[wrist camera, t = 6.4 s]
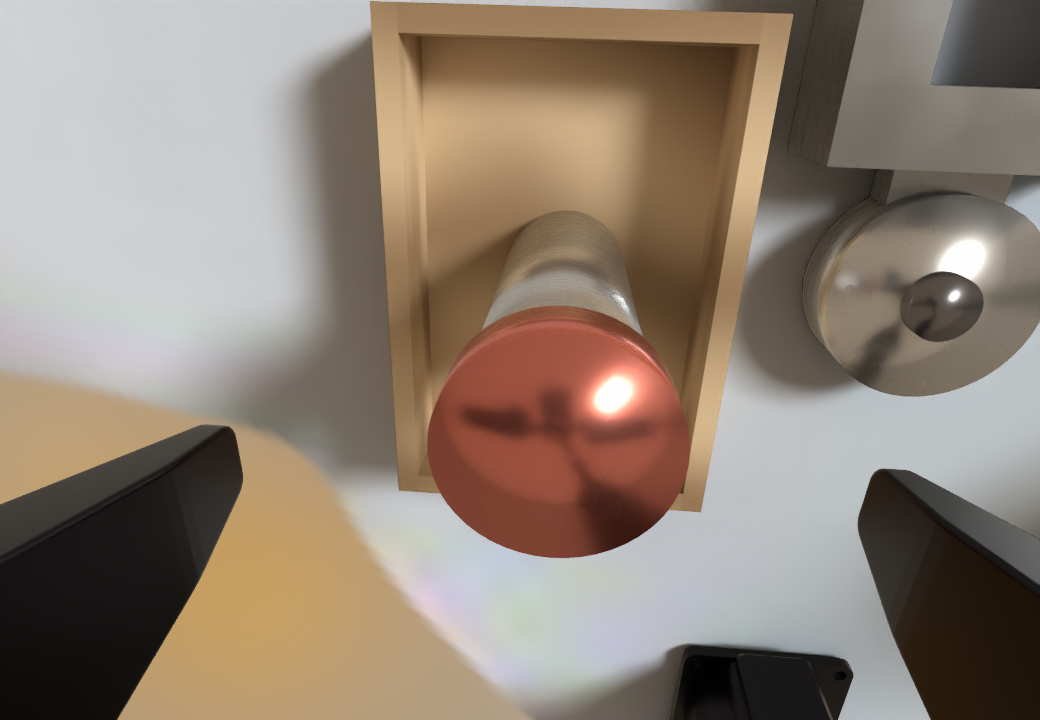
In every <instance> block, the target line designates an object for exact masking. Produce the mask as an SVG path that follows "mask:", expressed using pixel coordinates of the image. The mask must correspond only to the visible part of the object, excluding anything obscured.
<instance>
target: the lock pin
mask: <svg viewBox="0 0 1040 720" xmlns="http://www.w3.org/2000/svg"><path fill="white" fill-rule="evenodd" d="M427 451H428V460H429V464H430V468H431V472H432V476H433V478H434V480H435V483H436V485H437V487H438V489H439V491H440V493H441V494H442V496H443V498H444V499H445V501H446V502H447V504H448V505H449V506H450V507H451V509H452V510H453V511H454V512H455V513H456V514H457V515H458V516H459V517H460V518H461V519H462V520H463V521H464V522H465V523H466V524H467V525H468V526H470V527H471V528H472V529H474V530H475V531H476V532H477V533H479V534H481V535H482V536H484V537H486V538H487V539H489V540H491V541H493V542H495V543H497V544H499V545H501V546H503V547H506V548H509V549H512V550H515V551H518V552H521V553H526V554H530V555H534V556H542V557H550V558H571V557H583V556H588V555H594V554H598V553H602V552H605V551H608V550H612V549H614V548H617V547H619V546H621V545H624V544H626V543H628V542H630V541H632V540H633V539H635V538H637V537H639V536H640V535H642V534H643V533H644V532H646V531H647V530H648V529H650V528H651V527H652V526H653V525H655V524H656V523H657V522H658V521H659V520H660V519H661V518H662V517H663V516H664V515H665V513H666V512H667V511H668V510H669V508H670V507H671V506H672V505H673V503H674V501H675V500H676V498H677V496H678V495H679V493H680V491H681V488H682V486H683V484H684V481H685V479H686V475H687V471H688V467H689V459H690V439H689V432H688V427H687V423H686V419H685V416H684V413H683V410H682V407H681V403H680V400H679V397H678V394H677V391H676V388H675V385H674V382H673V379H672V377H671V374H670V372H669V369H668V368H667V366H666V364H665V363H664V361H663V359H662V357H661V356H660V355H659V353H658V352H657V351H656V350H655V348H654V347H653V346H652V345H651V344H650V343H649V342H648V341H647V340H646V339H645V338H644V337H643V336H642V332H641V328H640V324H639V320H638V316H637V312H636V309H635V305H634V301H633V297H632V293H631V289H630V285H629V281H628V278H627V274H626V270H625V266H624V262H623V258H622V254H621V250H620V248H619V245H618V243H617V241H616V239H615V237H614V236H613V234H612V233H611V232H610V230H609V229H608V228H607V227H606V226H605V225H604V224H602V223H601V222H600V221H598V220H597V219H595V218H593V217H592V216H589V215H587V214H584V213H581V212H577V211H568V210H567V211H555V212H550V213H547V214H544V215H542V216H539V217H537V218H536V219H534V220H532V221H531V222H530V223H528V224H527V225H526V226H525V227H524V228H523V229H522V230H521V231H520V232H519V234H518V235H517V236H516V238H515V240H514V242H513V243H512V246H511V248H510V251H509V254H508V257H507V260H506V263H505V266H504V268H503V271H502V274H501V277H500V280H499V283H498V286H497V289H496V291H495V294H494V297H493V300H492V303H491V306H490V309H489V312H488V315H487V317H486V320H485V323H484V326H483V329H482V331H480V332H479V333H478V334H476V335H475V336H474V337H473V338H472V339H471V340H470V341H469V342H468V343H467V344H466V345H465V346H464V348H463V349H462V350H461V352H460V353H459V354H458V356H457V357H456V359H455V361H454V363H453V364H452V366H451V368H450V370H449V372H448V375H447V377H446V380H445V382H444V385H443V387H442V390H441V392H440V394H439V397H438V399H437V402H436V404H435V407H434V410H433V413H432V415H431V418H430V423H429V428H428V436H427Z"/></svg>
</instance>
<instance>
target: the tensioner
mask: <svg viewBox="0 0 1040 720" xmlns="http://www.w3.org/2000/svg"><path fill="white" fill-rule="evenodd" d="M953 1H954V0H817V5H816V10H815V15H814V20H813V25H812V30H811V35H810V41H809V46H808V51H807V56H806V61H805V66H804V71H803V76H802V81H801V86H800V91H799V96H798V101H797V106H796V111H795V116H794V121H793V126H792V131H791V136H790V141H789V146H788V152H791V153H793V154H796V155H798V156H801V157H803V158H806V159H808V160H811V161H813V162H816V163H819V164H821V165H824V166H826V167H845V168H868V169H877V171H876V175H875V179H874V183H873V187H872V191H871V195H870V198H868V199H866V200H864V201H862V202H860V203H859V204H857V205H856V206H854V207H853V208H851V209H850V210H849V211H847V212H846V213H845V214H844V215H843V216H841V217H840V218H839V219H838V220H837V221H836V222H835V223H834V224H833V225H832V226H831V227H830V228H829V229H828V230H827V232H826V233H825V234H824V236H823V237H822V238H821V240H820V241H819V243H818V244H817V246H816V248H815V249H814V251H813V253H812V255H811V257H810V260H809V262H808V264H807V268H806V271H805V274H804V280H803V286H802V302H803V310H804V313H805V317H806V320H807V322H808V324H809V326H810V329H811V330H812V332H813V333H814V335H815V336H816V338H817V339H818V340H819V341H820V342H821V344H822V345H823V346H824V347H825V348H826V349H827V350H828V351H829V352H830V354H831V355H832V356H833V357H834V358H835V359H836V360H837V361H838V362H839V364H840V365H841V366H842V367H843V368H844V369H845V370H846V371H847V372H848V373H849V374H850V375H851V376H852V377H854V378H855V379H856V380H858V381H859V382H861V383H862V384H864V385H866V386H868V387H870V388H872V389H875V390H878V391H880V392H884V393H888V394H892V395H899V396H928V395H935V394H940V393H945V392H949V391H952V390H955V389H958V388H961V387H964V386H966V385H968V384H971V383H973V382H975V381H977V380H979V379H981V378H983V377H985V376H986V375H988V374H990V373H991V372H993V371H994V370H995V369H997V368H998V367H1000V366H1001V365H1002V364H1004V363H1005V362H1006V361H1007V360H1008V359H1010V358H1011V357H1012V356H1013V355H1014V354H1015V353H1016V352H1017V351H1018V350H1019V349H1020V348H1021V347H1022V346H1023V345H1024V343H1025V342H1026V341H1027V340H1028V338H1029V337H1030V336H1031V335H1032V333H1033V331H1034V330H1035V328H1036V327H1037V325H1038V323H1039V322H1040V232H1039V230H1038V229H1037V228H1036V226H1035V225H1034V224H1033V223H1032V222H1031V221H1030V220H1029V219H1028V218H1026V217H1025V216H1024V215H1023V214H1021V213H1020V212H1018V211H1017V210H1015V209H1013V208H1012V207H1009V206H1007V205H1004V204H1005V201H1006V198H1007V195H1008V192H1009V189H1010V186H1011V184H1012V181H1013V178H1014V175H1034V176H1040V88H1017V87H989V86H960V85H932V84H930V83H931V80H932V76H933V73H934V69H935V65H936V62H937V58H938V55H939V51H940V47H941V44H942V40H943V37H944V33H945V29H946V26H947V22H948V19H949V15H950V11H951V8H952V4H953Z"/></svg>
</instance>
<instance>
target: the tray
mask: <svg viewBox="0 0 1040 720" xmlns="http://www.w3.org/2000/svg"><path fill="white" fill-rule="evenodd" d="M370 10H371V27H372V44H373V61H374V78H375V94H376V111H377V128H378V145H379V162H380V179H381V196H382V213H383V230H384V246H385V263H386V280H387V297H388V314H389V331H390V348H391V365H392V382H393V399H394V415H395V432H396V449H397V466H398V483H399V490H401V491H415V492H429V493H440V491H439V489H438V487H437V485H436V483H435V480H434V478H433V476H432V472H431V468H430V464H429V460H428V451H427V436H428V428H429V423H430V418H431V415H432V413H433V410H434V407H435V404H436V402H437V399H438V397H439V394H440V392H441V390H442V387H443V385H444V382H445V380H446V377H447V375H448V372H449V370H450V368H451V366H452V364H453V363H454V361H455V359H456V357H457V356H458V354H459V353H460V352H461V350H462V349H463V348H464V346H465V345H466V344H467V343H468V342H469V341H470V340H471V339H472V338H473V337H474V336H475V335H476V334H478V333H479V332H480V331H482V329H483V326H484V323H485V320H486V317H487V315H488V312H489V309H490V306H491V303H492V300H493V297H494V294H495V291H496V289H497V286H498V283H499V280H500V277H501V274H502V271H503V268H504V266H505V263H506V260H507V257H508V254H509V251H510V248H511V246H512V243H513V242H514V240H515V238H516V236H517V235H518V234H519V232H520V231H521V230H522V229H523V228H524V227H525V226H526V225H527V224H528V223H530V222H531V221H532V220H534V219H536V218H537V217H539V216H542V215H544V214H547V213H550V212H555V211H567V210H568V211H577V212H581V213H584V214H587V215H589V216H592V217H593V218H595V219H597V220H598V221H600V222H601V223H602V224H604V225H605V226H606V227H607V228H608V229H609V230H610V232H611V233H612V234H613V236H614V237H615V239H616V241H617V243H618V245H619V248H620V250H621V254H622V258H623V262H624V266H625V270H626V274H627V278H628V281H629V285H630V289H631V293H632V297H633V301H634V305H635V309H636V312H637V316H638V320H639V324H640V328H641V332H642V336H643V337H644V338H645V339H646V340H647V341H648V342H649V343H650V344H651V345H652V346H653V347H654V348H655V350H656V351H657V352H658V353H659V355H660V356H661V357H662V359H663V361H664V363H665V364H666V366H667V368H668V369H669V372H670V374H671V377H672V379H673V382H674V385H675V388H676V391H677V394H678V397H679V400H680V403H681V407H682V410H683V413H684V416H685V419H686V423H687V427H688V432H689V439H690V459H689V467H688V471H687V475H686V479H685V481H684V484H683V486H682V488H681V491H680V493H679V495H678V496H677V498H676V500H675V501H674V503H673V505H672V506H671V507H670V508H669V510H678V511H692V512H701V507H702V502H703V497H704V491H705V486H706V481H707V475H708V470H709V465H710V459H711V454H712V449H713V443H714V438H715V432H716V427H717V422H718V416H719V411H720V406H721V400H722V395H723V390H724V384H725V379H726V374H727V368H728V363H729V358H730V352H731V347H732V341H733V336H734V331H735V325H736V320H737V315H738V309H739V304H740V299H741V293H742V288H743V283H744V277H745V272H746V267H747V261H748V256H749V250H750V245H751V240H752V234H753V229H754V224H755V218H756V213H757V208H758V202H759V197H760V192H761V186H762V181H763V176H764V170H765V165H766V159H767V154H768V149H769V143H770V138H771V133H772V127H773V122H774V117H775V111H776V106H777V101H778V95H779V90H780V85H781V79H782V74H783V68H784V63H785V58H786V52H787V47H788V42H789V36H790V31H791V26H792V20H793V15H794V14H784V13H750V12H716V11H682V10H648V9H614V8H580V7H547V6H513V5H479V4H445V3H411V2H377V1H370Z"/></svg>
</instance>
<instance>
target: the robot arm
mask: <svg viewBox="0 0 1040 720" xmlns="http://www.w3.org/2000/svg"><path fill="white" fill-rule="evenodd" d="M242 482H243V472H242V466H241V462H240V456H239V451H238V445H237V440H236V436H235V433H234V431H233V430H232V429H231V428H230V427H228V426H220V425H199V426H197V427H194V428H192V429H189V430H187V431H184V432H182V433H179V434H177V435H174V436H172V437H169V438H167V439H164V440H161V441H159V442H157V443H154V444H151V445H149V446H146V447H144V448H141V449H139V450H136V451H134V452H131V453H129V454H126V455H124V456H121V457H119V458H116V459H114V460H111V461H109V462H106V463H104V464H101V465H99V466H96V467H94V468H91V469H89V470H86V471H83V472H81V473H78V474H76V475H73V476H71V477H68V478H66V479H63V480H61V481H58V482H56V483H53V484H51V485H48V486H46V487H43V488H41V489H38V490H36V491H33V492H31V493H28V494H26V495H23V496H21V497H18V498H15V499H13V500H10V501H8V502H5V503H3V504H0V720H117V719H118V717H119V716H120V714H121V712H122V711H123V709H124V707H125V706H126V704H127V702H128V701H129V699H130V697H131V695H132V694H133V692H134V690H135V689H136V687H137V685H138V684H139V682H140V680H141V679H142V677H143V675H144V673H145V672H146V670H147V669H148V667H149V665H150V663H151V662H152V660H153V658H154V657H155V655H156V653H157V652H158V650H159V648H160V647H161V645H162V643H163V641H164V640H165V638H166V636H167V635H168V633H169V631H170V629H171V628H172V626H173V624H174V623H175V621H176V619H177V618H178V616H179V614H180V613H181V611H182V609H183V608H184V606H185V604H186V603H187V601H188V599H189V598H190V596H191V594H192V592H193V591H194V589H195V587H196V585H197V583H198V582H199V580H200V578H201V576H202V574H203V571H204V570H205V567H206V566H207V563H208V561H209V559H210V557H211V555H212V552H213V550H214V548H215V546H216V544H217V541H218V539H219V537H220V535H221V533H222V531H223V528H224V526H225V524H226V522H227V519H228V517H229V515H230V513H231V511H232V509H233V506H234V504H235V502H236V500H237V498H238V495H239V493H240V491H241V487H242ZM858 532H859V536H860V539H861V542H862V545H863V548H864V551H865V554H866V557H867V560H868V563H869V567H870V570H871V573H872V576H873V579H874V582H875V585H876V588H877V591H878V594H879V597H880V600H881V603H882V606H883V609H884V612H885V615H886V618H887V621H888V623H889V626H890V629H891V632H892V634H893V637H894V639H895V641H896V644H897V646H898V648H899V651H900V653H901V655H902V658H903V660H904V662H905V664H906V666H907V668H908V671H909V673H910V675H911V677H912V679H913V682H914V684H915V686H916V688H917V690H918V693H919V695H920V697H921V699H922V701H923V704H924V706H925V708H926V710H927V712H928V714H929V717H930V719H931V720H1040V539H1038V538H1036V537H1034V536H1032V535H1030V534H1028V533H1027V532H1025V531H1023V530H1021V529H1019V528H1017V527H1015V526H1013V525H1011V524H1010V523H1008V522H1006V521H1004V520H1002V519H1000V518H998V517H996V516H994V515H993V514H991V513H989V512H987V511H985V510H983V509H981V508H979V507H977V506H976V505H974V504H972V503H970V502H968V501H966V500H964V499H962V498H961V497H959V496H957V495H955V494H953V493H951V492H949V491H947V490H945V489H944V488H942V487H940V486H938V485H936V484H934V483H932V482H930V481H928V480H927V479H925V478H923V477H921V476H919V475H917V474H915V473H913V472H911V471H907V470H896V469H879V470H877V471H875V472H874V474H873V475H872V477H871V479H870V482H869V485H868V488H867V491H866V495H865V498H864V501H863V504H862V507H861V510H860V513H859V517H858ZM695 659H698V660H695ZM852 679H853V672H852V670H851V667H850V665H849V663H848V662H847V661H846V660H844V659H840V658H830V657H818V656H806V655H794V654H782V653H770V652H758V651H746V650H734V649H722V648H710V647H698V646H695V647H690V648H687V649H686V650H685V651H684V652H683V654H682V660H681V665H680V670H679V675H678V680H677V685H676V690H675V696H674V701H673V706H672V711H671V716H670V720H838V718H839V715H840V712H841V709H842V707H843V704H844V701H845V698H846V696H847V693H848V690H849V687H850V684H851V682H852Z"/></svg>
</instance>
